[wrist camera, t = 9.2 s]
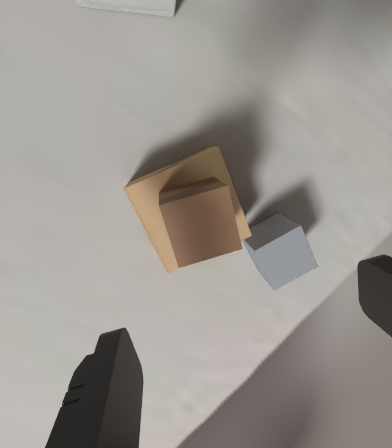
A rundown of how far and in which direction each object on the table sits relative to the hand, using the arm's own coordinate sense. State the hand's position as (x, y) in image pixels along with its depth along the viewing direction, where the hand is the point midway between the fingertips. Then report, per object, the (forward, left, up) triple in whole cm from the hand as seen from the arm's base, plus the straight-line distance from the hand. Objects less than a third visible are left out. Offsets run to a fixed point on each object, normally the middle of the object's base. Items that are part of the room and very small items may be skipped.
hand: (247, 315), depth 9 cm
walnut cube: (0, 0, -13) cm, 13 cm away
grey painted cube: (-7, +6, -17) cm, 19 cm away
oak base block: (0, 0, -17) cm, 17 cm away
